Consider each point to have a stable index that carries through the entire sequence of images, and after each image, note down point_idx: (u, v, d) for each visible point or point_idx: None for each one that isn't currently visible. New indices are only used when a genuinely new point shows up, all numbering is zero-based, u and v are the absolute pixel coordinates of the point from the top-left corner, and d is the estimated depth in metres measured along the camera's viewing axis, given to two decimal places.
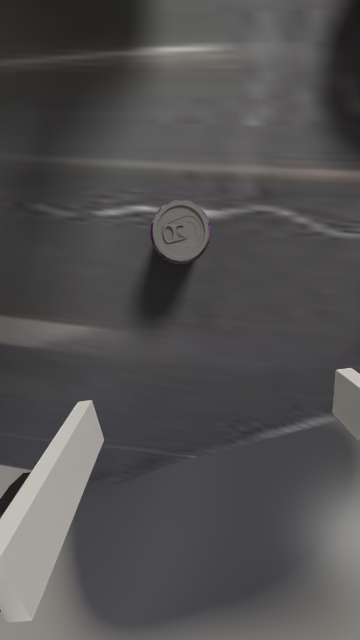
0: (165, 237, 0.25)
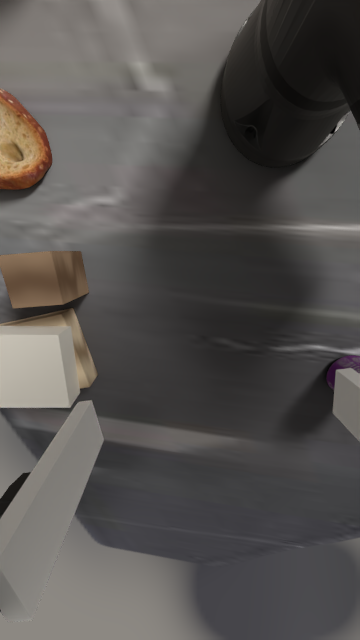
0: None
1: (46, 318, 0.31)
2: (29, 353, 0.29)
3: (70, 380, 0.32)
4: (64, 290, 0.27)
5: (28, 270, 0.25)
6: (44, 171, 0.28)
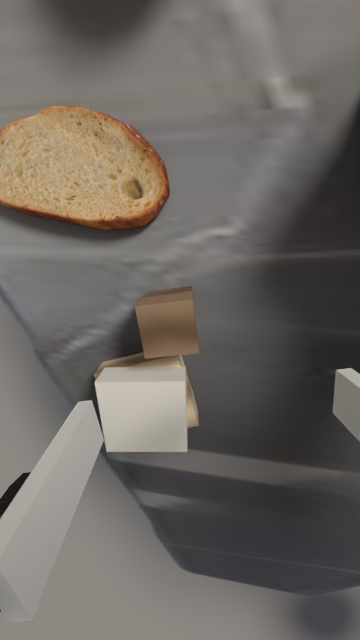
0: None
1: (160, 359, 0.30)
2: (152, 400, 0.28)
3: None
4: None
5: (166, 320, 0.23)
6: (162, 206, 0.26)
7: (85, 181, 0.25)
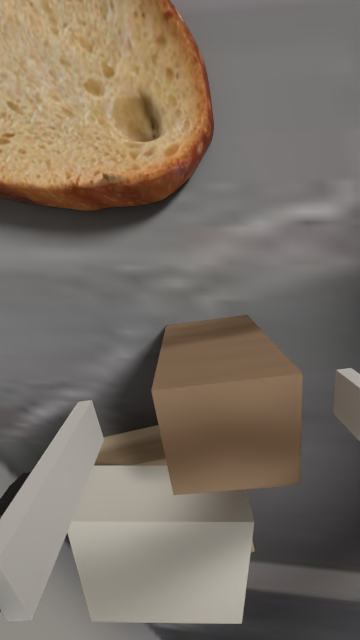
0: None
1: None
2: (183, 551, 0.14)
3: None
4: None
5: (230, 420, 0.09)
6: (200, 159, 0.13)
7: (32, 100, 0.11)
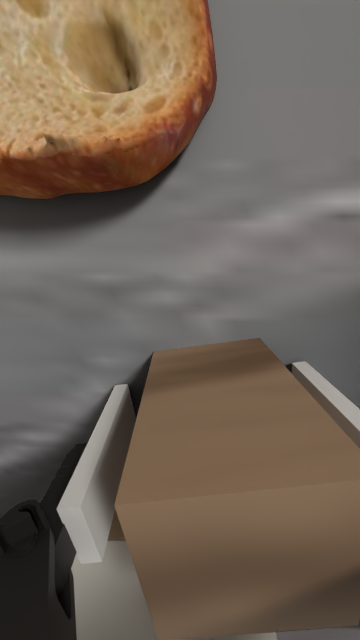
0: None
1: None
2: None
3: None
4: None
5: (252, 545, 0.05)
6: (198, 123, 0.09)
7: None
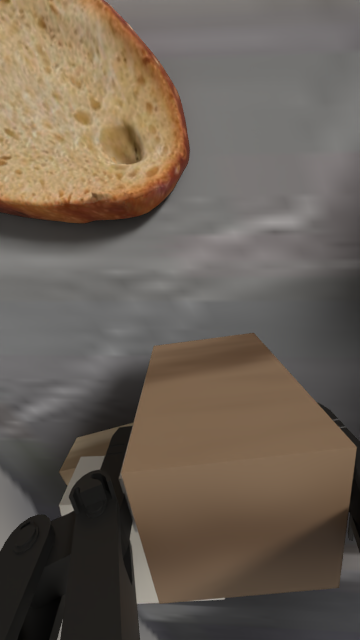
0: None
1: None
2: None
3: None
4: None
5: (242, 510, 0.06)
6: (178, 178, 0.14)
7: (27, 127, 0.13)
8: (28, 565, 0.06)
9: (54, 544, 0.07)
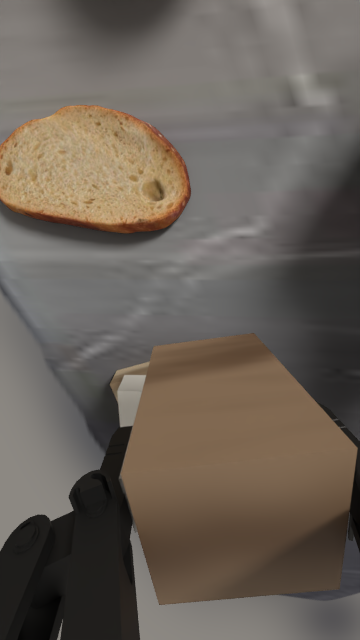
0: None
1: None
2: None
3: None
4: None
5: (243, 511, 0.06)
6: (184, 207, 0.25)
7: (104, 183, 0.24)
8: (28, 565, 0.06)
9: (54, 544, 0.07)
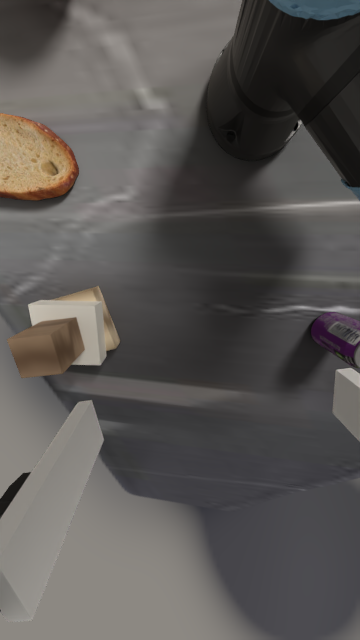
0: None
1: (80, 293, 0.40)
2: None
3: (101, 344, 0.40)
4: (63, 360, 0.32)
5: (33, 349, 0.30)
6: (74, 179, 0.37)
7: (15, 165, 0.35)
8: None
9: None
